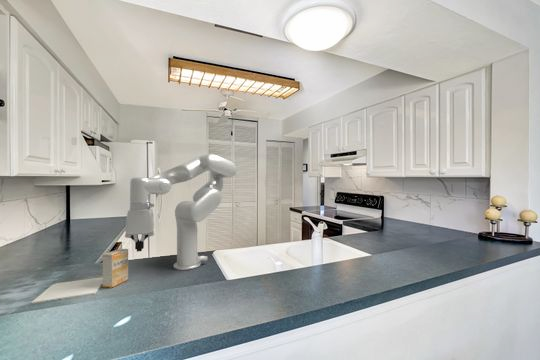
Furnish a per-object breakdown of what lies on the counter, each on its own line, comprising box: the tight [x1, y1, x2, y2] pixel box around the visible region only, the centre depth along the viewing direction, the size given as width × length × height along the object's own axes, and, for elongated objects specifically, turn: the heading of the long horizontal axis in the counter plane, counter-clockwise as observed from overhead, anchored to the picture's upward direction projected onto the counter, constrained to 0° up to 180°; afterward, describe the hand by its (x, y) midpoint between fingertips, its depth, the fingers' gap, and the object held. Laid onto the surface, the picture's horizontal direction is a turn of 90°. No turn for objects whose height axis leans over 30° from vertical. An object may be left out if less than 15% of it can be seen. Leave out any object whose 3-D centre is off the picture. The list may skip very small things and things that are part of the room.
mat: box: [30, 276, 103, 305], centre depth 91 cm, size 18×16×1 cm
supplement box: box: [101, 248, 129, 289], centre depth 96 cm, size 8×5×13 cm, turn 168°
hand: (139, 250), depth 99 cm, fingers closed
